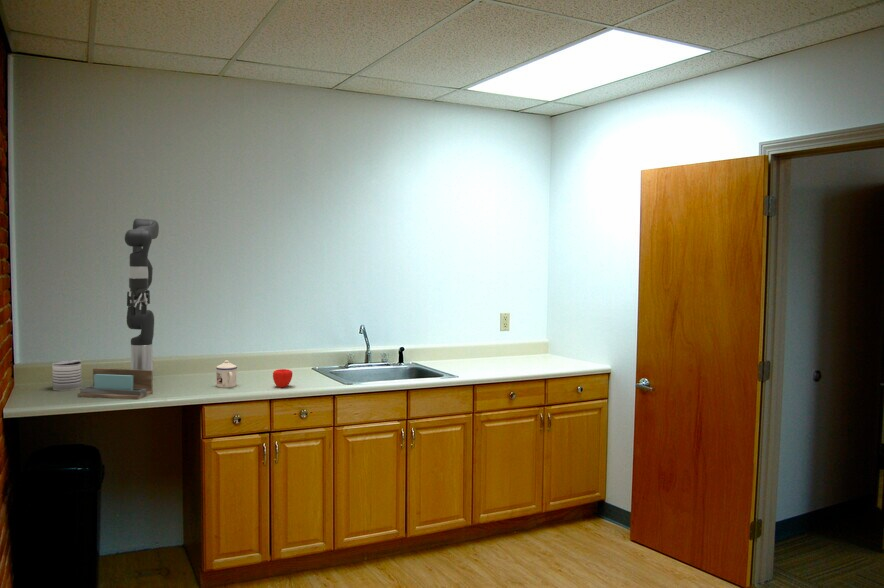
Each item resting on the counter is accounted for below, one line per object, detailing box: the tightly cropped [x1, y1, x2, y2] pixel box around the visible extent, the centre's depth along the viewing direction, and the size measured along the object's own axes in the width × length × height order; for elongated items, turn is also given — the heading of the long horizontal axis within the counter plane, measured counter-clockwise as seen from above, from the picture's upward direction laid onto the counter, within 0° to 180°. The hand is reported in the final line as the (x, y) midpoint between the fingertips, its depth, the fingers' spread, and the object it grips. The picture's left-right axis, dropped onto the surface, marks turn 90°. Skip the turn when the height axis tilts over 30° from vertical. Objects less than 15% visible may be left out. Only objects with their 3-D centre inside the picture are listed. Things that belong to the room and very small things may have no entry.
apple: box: [272, 368, 293, 389], centre depth 321 cm, size 9×9×8 cm
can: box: [51, 359, 82, 391], centre depth 307 cm, size 11×11×12 cm
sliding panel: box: [94, 374, 133, 390], centre depth 293 cm, size 2×16×8 cm, turn 84°
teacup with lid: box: [215, 360, 238, 389], centre depth 318 cm, size 12×9×12 cm
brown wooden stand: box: [77, 367, 154, 400], centre depth 294 cm, size 12×26×10 cm, turn 84°
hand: (138, 315), depth 300 cm, fingers open, 8 cm apart
